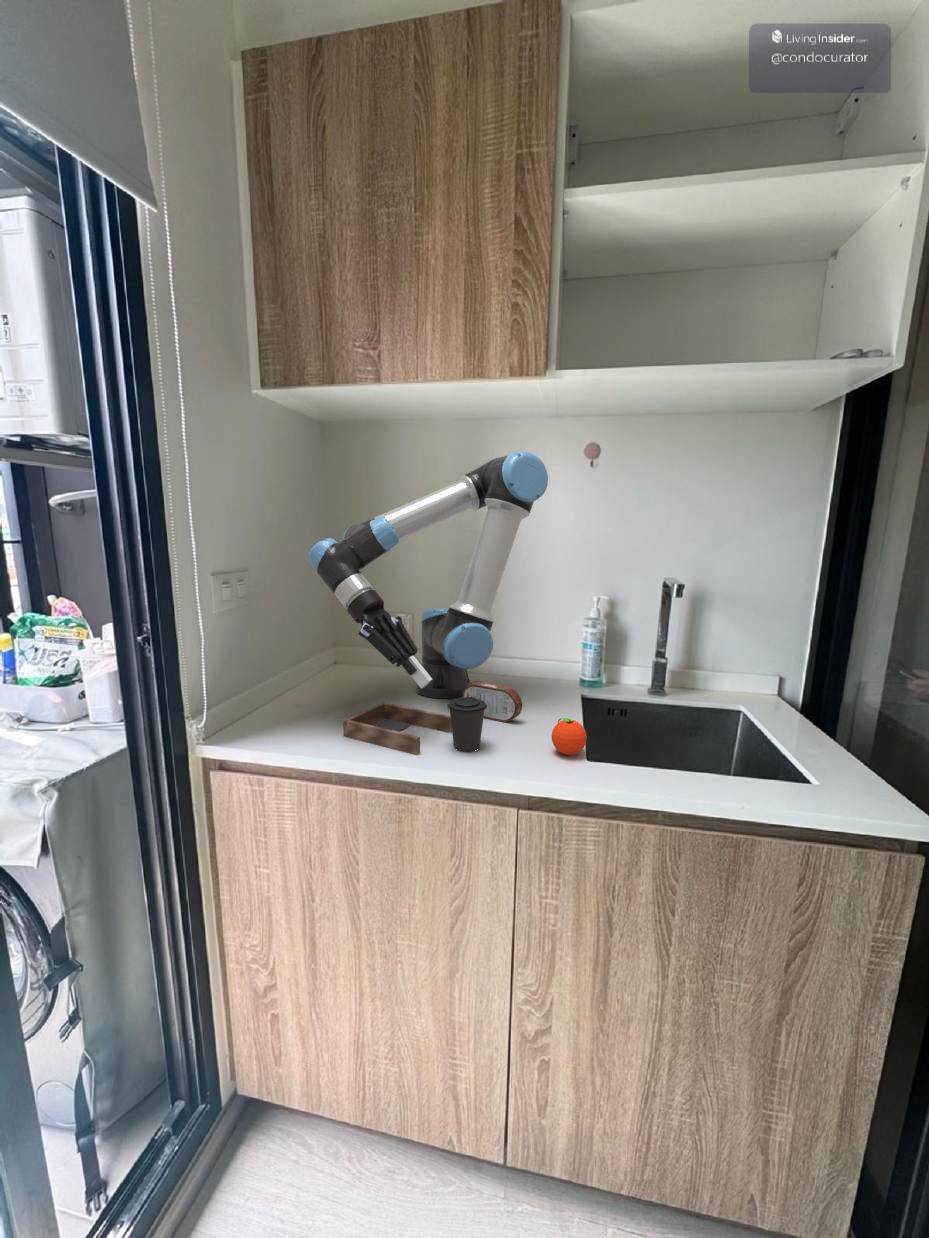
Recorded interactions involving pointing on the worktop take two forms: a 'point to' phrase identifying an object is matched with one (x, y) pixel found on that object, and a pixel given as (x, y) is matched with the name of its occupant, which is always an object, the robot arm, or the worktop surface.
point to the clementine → (569, 736)
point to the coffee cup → (467, 722)
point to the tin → (495, 700)
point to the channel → (366, 732)
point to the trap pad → (393, 725)
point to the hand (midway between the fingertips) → (426, 683)
